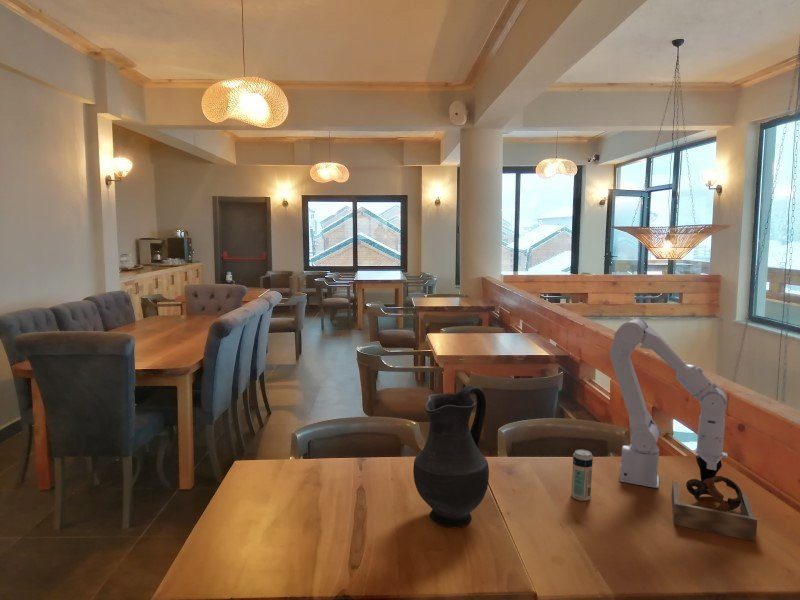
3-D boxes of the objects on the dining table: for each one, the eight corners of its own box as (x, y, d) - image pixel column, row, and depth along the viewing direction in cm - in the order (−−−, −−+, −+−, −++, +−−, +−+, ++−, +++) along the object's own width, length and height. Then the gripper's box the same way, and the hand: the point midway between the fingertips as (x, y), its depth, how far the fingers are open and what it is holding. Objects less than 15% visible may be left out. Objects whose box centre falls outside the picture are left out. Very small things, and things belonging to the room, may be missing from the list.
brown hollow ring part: (724, 497, 140) (741, 478, 135) (732, 529, 132) (750, 510, 127) (677, 481, 142) (691, 462, 137) (681, 512, 134) (697, 493, 129)
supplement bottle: (588, 493, 140) (590, 449, 138) (592, 502, 135) (595, 456, 134) (569, 492, 140) (571, 448, 139) (573, 501, 136) (575, 455, 134)
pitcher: (398, 517, 127) (399, 392, 124) (452, 488, 142) (455, 376, 139) (457, 546, 115) (461, 410, 112) (510, 511, 131) (514, 389, 127)
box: (673, 524, 125) (675, 503, 125) (671, 495, 139) (673, 477, 139) (755, 541, 119) (757, 519, 118) (744, 509, 133) (746, 490, 132)
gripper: (732, 447, 130) (728, 501, 132) (725, 428, 143) (721, 477, 145) (699, 442, 133) (695, 495, 135) (694, 424, 146) (691, 472, 148)
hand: (706, 485), depth 140 cm, fingers closed
